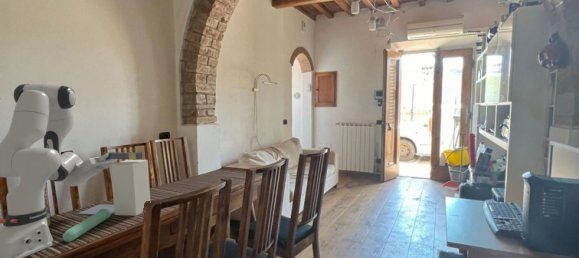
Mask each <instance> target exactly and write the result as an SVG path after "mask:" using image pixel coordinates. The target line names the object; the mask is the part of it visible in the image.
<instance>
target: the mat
mask: <svg viewBox="0 0 579 258" xmlns="http://www.w3.org/2000/svg"><path fill="white" fill-rule="evenodd" d="M101 209H107V210H108V211H109V212H110V216H112V215H115V213H114V204H102V203H101V204H100V203H99V204H96V205H95V206H92V207H90V208H87V209H85V210H82V211H80V212H78V213H77V215H81V216H83V215H84V216H92V215H94V214H96V213H97V212H99V211H100V210H101Z"/></svg>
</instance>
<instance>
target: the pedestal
mask: <svg viewBox="0 0 579 258" xmlns="http://www.w3.org/2000/svg"><path fill="white" fill-rule="evenodd" d="M110 170H111V182H112V195H113V197H112V199H113V205H114V216H132V217H133V216H135V217H136V216H138V215H140V214H142V213H143V208H144V203H145V202H146V201H150V202H151V191H150V190H151V189H150V174H149V173H150V172H149V161H148V159H124V160H122V161H118V162H114V163H113V164H111V165H110Z"/></svg>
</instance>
